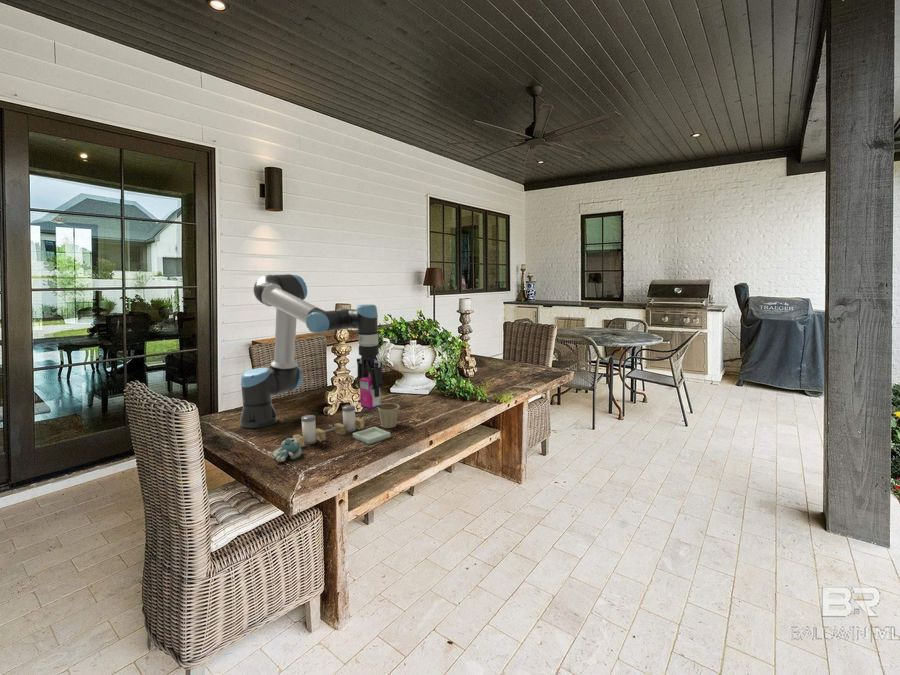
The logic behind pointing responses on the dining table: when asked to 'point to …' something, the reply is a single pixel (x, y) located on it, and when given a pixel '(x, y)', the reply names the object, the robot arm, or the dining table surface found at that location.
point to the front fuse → (309, 429)
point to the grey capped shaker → (349, 418)
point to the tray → (371, 435)
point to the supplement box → (367, 393)
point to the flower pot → (388, 414)
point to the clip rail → (337, 428)
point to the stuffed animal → (288, 450)
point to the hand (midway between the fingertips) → (370, 402)
